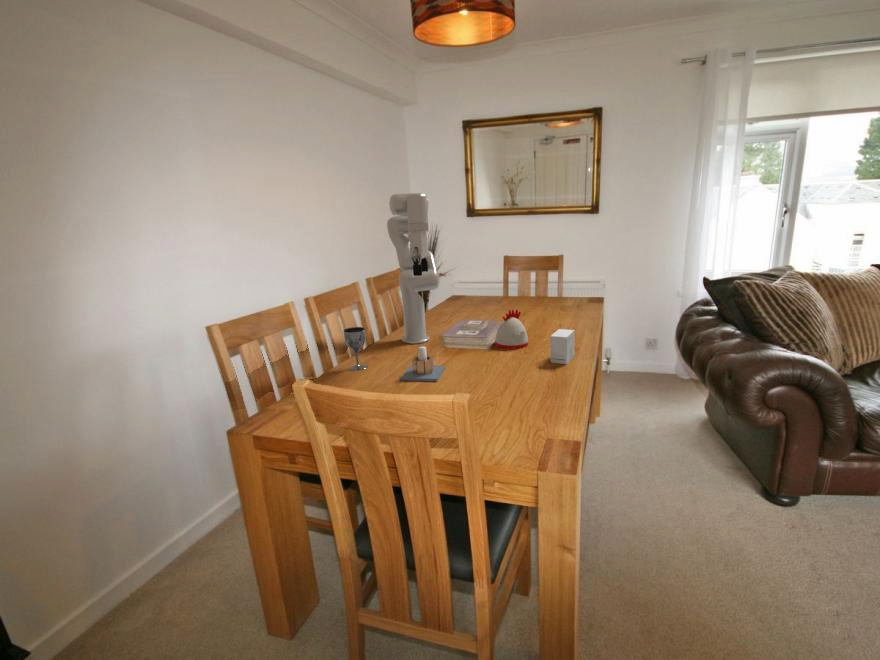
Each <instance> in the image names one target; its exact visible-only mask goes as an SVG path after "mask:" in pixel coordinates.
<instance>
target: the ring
mask: <svg viewBox="0 0 880 660" xmlns="http://www.w3.org/2000/svg"><path fill="white" fill-rule="evenodd" d="M411 365H413V373H414V374H416V375H428V374H431V373H433V371H434V367H433V366H434V357H433V356H431V355H427V360H425V361H419V360H418V355H416V356H414V357H412V360H411Z"/></svg>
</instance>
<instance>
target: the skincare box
mask: <svg viewBox="0 0 880 660" xmlns="http://www.w3.org/2000/svg"><path fill="white" fill-rule="evenodd" d="M575 331H576V330H575V329H565V328H559V329H557V330H556V331H554V333H553V334H551V335H550V363H552V364H562V365H568V364H569V363H570V362H571V361H572V360H573V358H574V357H575V355H576V354H575V338H576V337H575Z"/></svg>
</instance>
